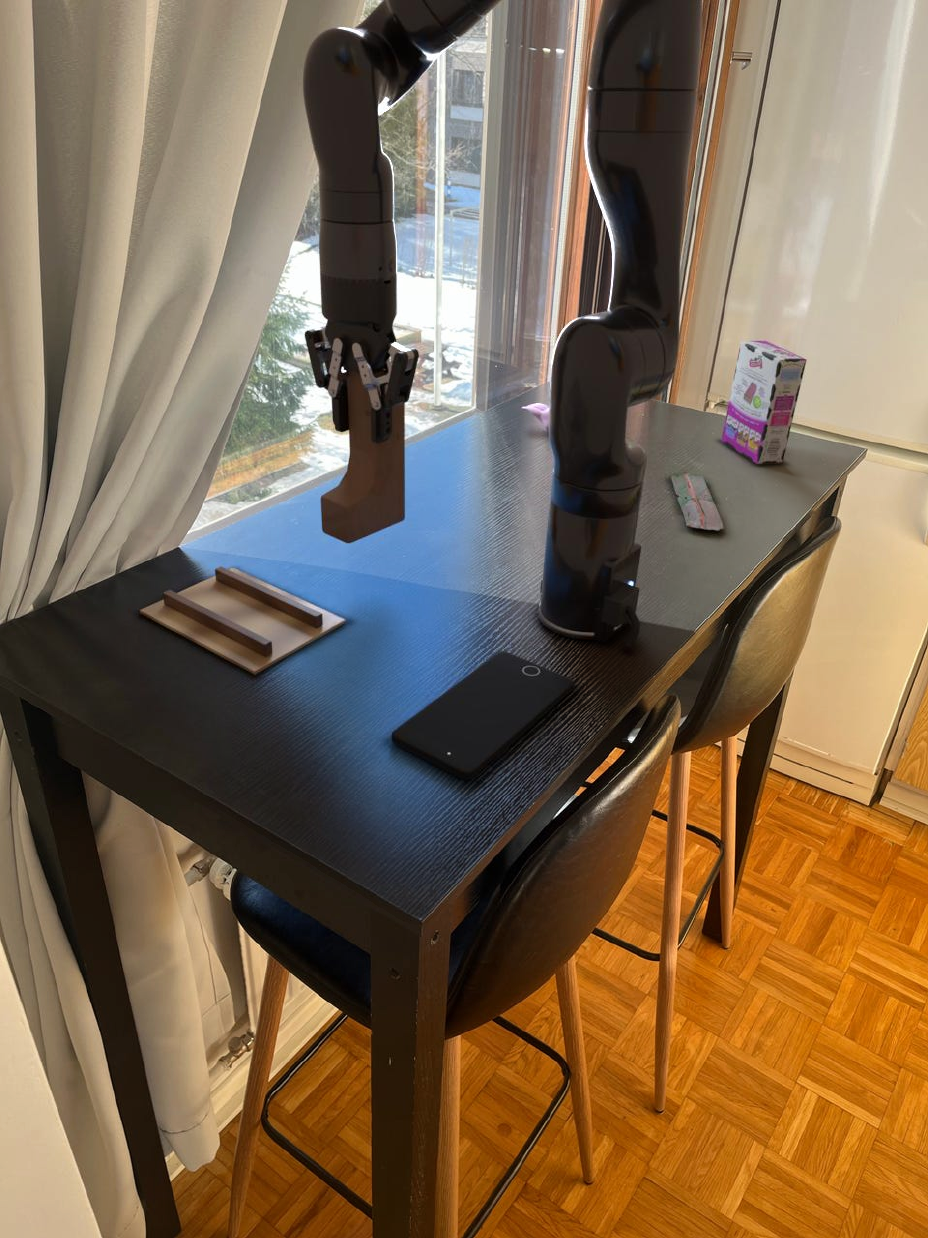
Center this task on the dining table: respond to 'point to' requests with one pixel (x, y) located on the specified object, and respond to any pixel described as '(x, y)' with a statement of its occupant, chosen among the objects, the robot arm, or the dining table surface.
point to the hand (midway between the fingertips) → (362, 434)
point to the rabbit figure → (540, 413)
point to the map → (696, 502)
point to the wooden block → (367, 473)
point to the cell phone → (482, 714)
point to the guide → (242, 619)
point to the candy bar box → (763, 401)
